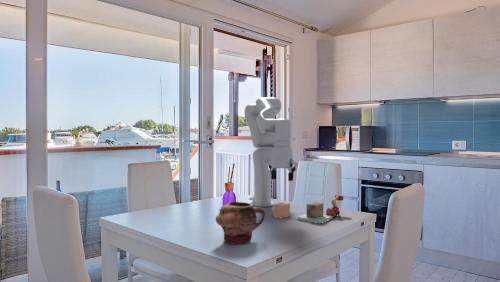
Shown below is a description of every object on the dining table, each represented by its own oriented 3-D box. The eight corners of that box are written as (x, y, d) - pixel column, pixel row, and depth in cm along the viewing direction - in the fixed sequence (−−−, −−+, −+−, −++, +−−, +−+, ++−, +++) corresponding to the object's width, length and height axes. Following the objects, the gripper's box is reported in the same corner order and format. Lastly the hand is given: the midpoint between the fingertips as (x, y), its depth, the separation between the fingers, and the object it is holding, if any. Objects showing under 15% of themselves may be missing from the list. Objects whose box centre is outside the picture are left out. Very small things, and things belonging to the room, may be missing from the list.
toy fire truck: (325, 218, 178) (325, 198, 178) (337, 213, 189) (337, 194, 188) (331, 219, 176) (331, 198, 176) (343, 214, 187) (343, 195, 186)
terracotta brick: (273, 217, 180) (273, 204, 180) (281, 214, 185) (281, 202, 185) (281, 218, 177) (282, 205, 177) (289, 215, 182) (289, 203, 182)
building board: (297, 220, 173) (297, 216, 173) (309, 215, 183) (310, 212, 183) (320, 224, 166) (320, 220, 166) (332, 219, 175) (332, 216, 175)
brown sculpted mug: (255, 233, 150) (255, 198, 150) (272, 240, 140) (272, 203, 139) (210, 240, 140) (210, 203, 139) (224, 248, 129) (225, 208, 129)
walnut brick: (306, 216, 173) (306, 204, 173) (313, 214, 179) (313, 202, 178) (316, 218, 170) (316, 205, 170) (323, 215, 175) (323, 203, 175)
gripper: (263, 144, 183) (263, 179, 183) (293, 145, 172) (293, 182, 172) (272, 144, 188) (271, 177, 189) (302, 144, 178) (301, 180, 178)
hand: (282, 179), depth 180 cm, fingers open, 9 cm apart
